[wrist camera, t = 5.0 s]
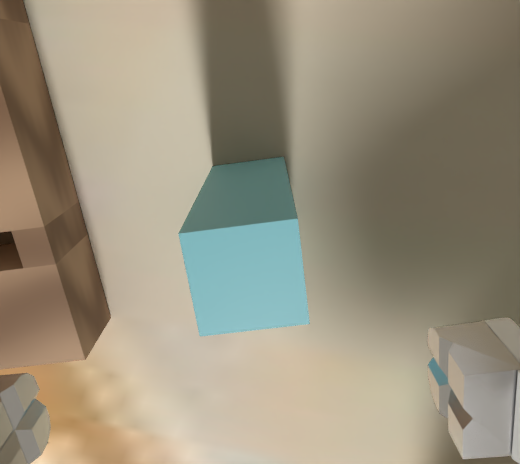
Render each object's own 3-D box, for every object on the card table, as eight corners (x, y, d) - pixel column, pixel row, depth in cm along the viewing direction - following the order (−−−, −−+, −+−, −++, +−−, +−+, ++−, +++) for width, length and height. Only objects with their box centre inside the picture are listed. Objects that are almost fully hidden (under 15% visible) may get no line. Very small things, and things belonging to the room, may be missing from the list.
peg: (291, 224, 24) (309, 323, 15) (224, 232, 25) (199, 336, 15) (283, 156, 23) (297, 218, 14) (212, 166, 23) (178, 233, 14)
